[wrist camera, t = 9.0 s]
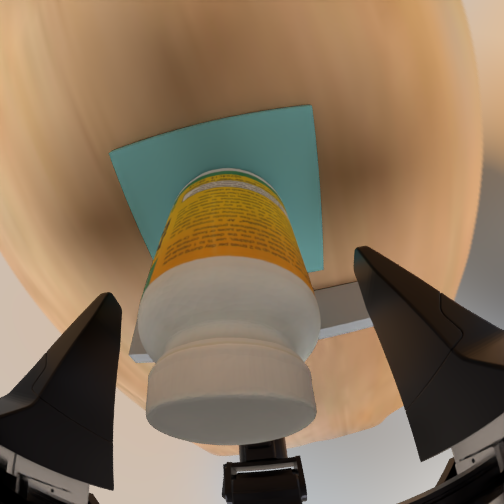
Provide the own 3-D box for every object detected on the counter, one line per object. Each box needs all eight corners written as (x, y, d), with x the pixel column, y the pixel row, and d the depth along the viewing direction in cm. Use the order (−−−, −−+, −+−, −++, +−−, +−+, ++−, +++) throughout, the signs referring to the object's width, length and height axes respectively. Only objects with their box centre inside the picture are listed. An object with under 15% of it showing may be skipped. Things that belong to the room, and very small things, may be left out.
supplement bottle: (284, 256, 15) (326, 439, 7) (184, 266, 15) (163, 449, 7) (283, 158, 12) (377, 359, 4) (161, 172, 12) (69, 375, 4)
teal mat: (321, 265, 16) (323, 269, 16) (172, 291, 16) (171, 296, 16) (309, 104, 11) (311, 105, 10) (112, 150, 11) (108, 153, 11)
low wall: (370, 288, 18) (387, 322, 15) (143, 327, 18) (135, 362, 16) (372, 277, 17) (390, 311, 15) (137, 318, 18) (128, 354, 15)
